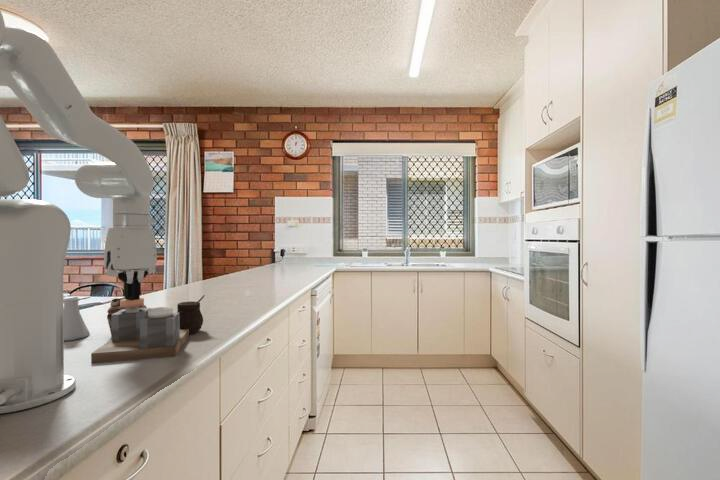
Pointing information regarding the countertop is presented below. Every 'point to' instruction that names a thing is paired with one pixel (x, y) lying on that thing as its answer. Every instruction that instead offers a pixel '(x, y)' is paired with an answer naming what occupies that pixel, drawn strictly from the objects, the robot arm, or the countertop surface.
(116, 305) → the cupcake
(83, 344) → the countertop surface
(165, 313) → the white round part
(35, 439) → the countertop surface
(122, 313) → the board
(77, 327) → the flask
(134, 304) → the orange rounded piece
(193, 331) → the mate gourd
